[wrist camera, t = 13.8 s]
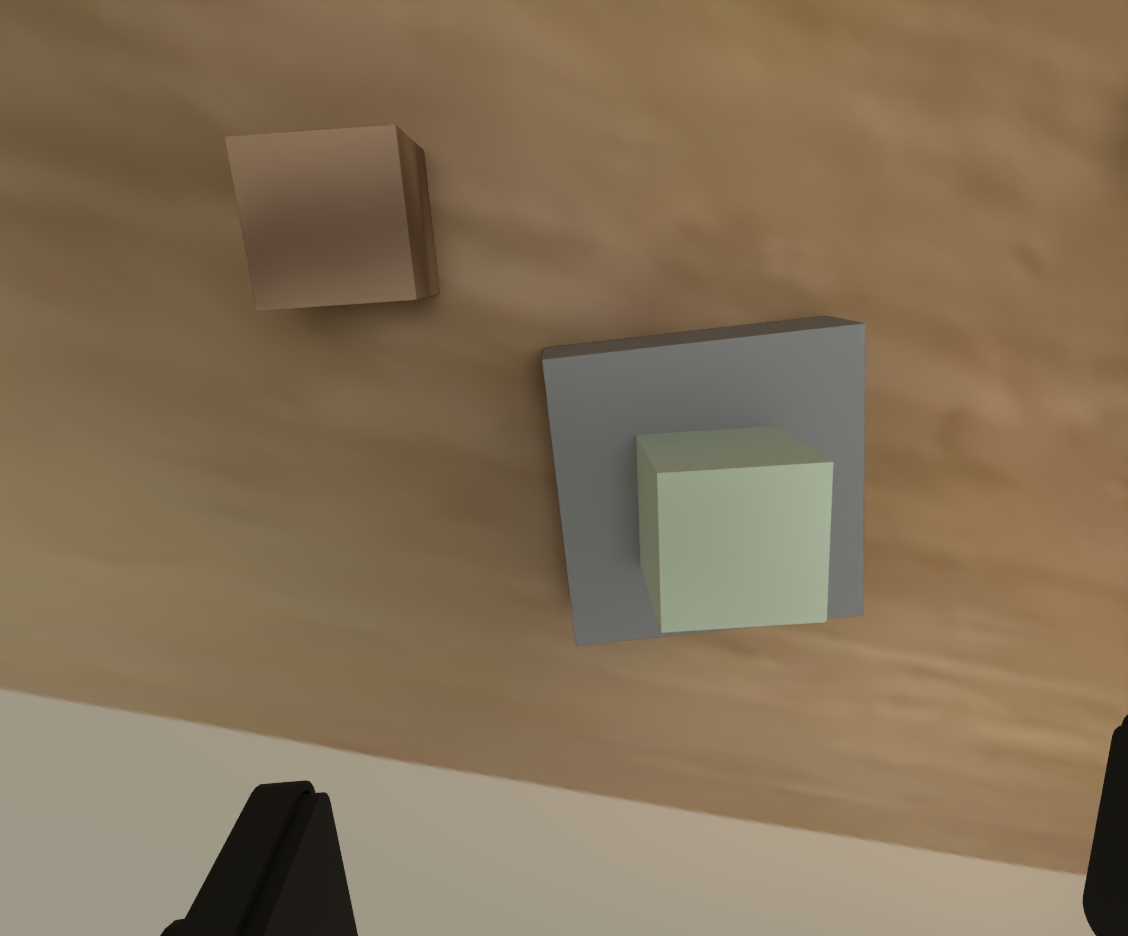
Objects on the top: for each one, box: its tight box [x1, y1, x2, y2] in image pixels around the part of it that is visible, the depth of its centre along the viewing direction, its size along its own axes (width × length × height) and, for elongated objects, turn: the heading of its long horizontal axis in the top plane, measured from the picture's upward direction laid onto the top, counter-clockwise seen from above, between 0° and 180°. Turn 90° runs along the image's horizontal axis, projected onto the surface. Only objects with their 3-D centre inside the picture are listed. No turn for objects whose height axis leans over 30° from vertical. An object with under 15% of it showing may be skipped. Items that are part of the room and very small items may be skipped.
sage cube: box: [636, 426, 833, 633], centre depth 23 cm, size 5×5×5 cm
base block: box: [542, 316, 866, 646], centre depth 27 cm, size 11×11×4 cm
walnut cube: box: [225, 125, 440, 311], centre depth 24 cm, size 5×5×5 cm
